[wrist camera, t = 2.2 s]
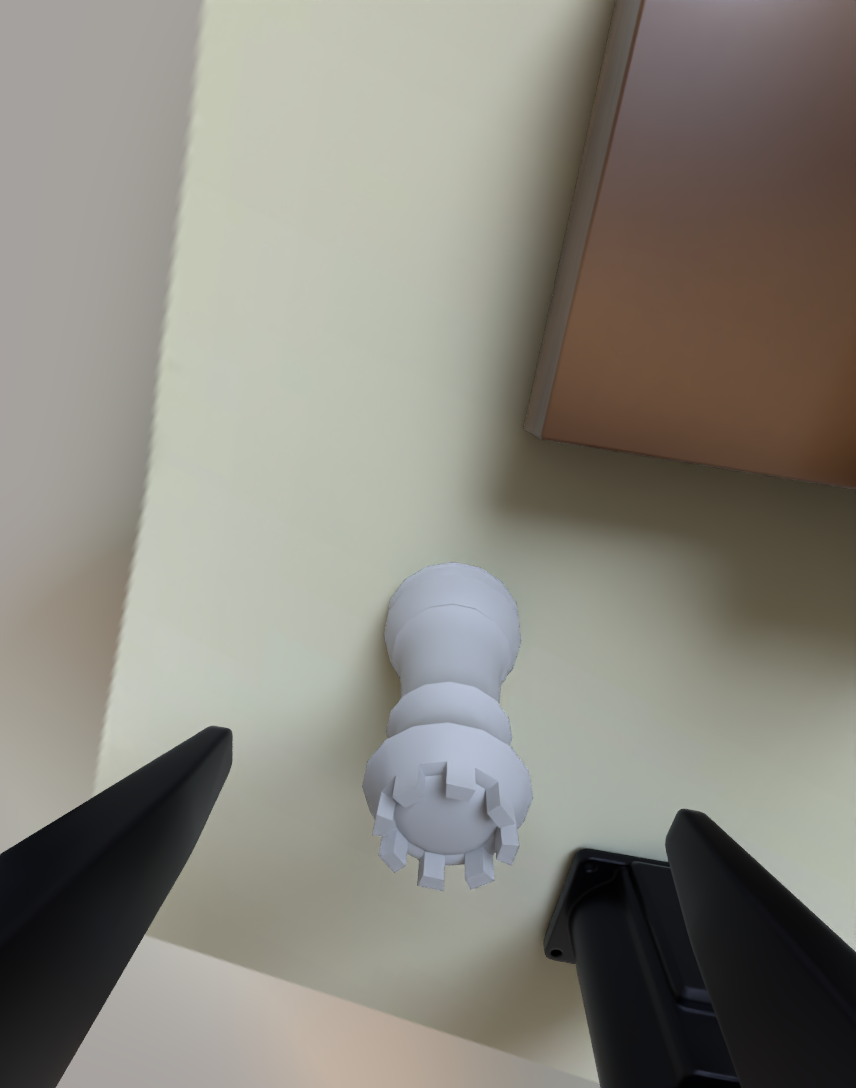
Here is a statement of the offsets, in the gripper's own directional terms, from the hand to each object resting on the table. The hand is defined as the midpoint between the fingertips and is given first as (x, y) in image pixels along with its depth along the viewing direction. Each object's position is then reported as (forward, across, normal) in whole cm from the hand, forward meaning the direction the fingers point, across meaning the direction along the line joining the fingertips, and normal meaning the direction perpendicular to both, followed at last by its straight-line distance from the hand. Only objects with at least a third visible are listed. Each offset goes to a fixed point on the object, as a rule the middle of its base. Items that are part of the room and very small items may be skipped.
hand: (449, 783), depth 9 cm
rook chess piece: (+7, 0, 0) cm, 7 cm away
